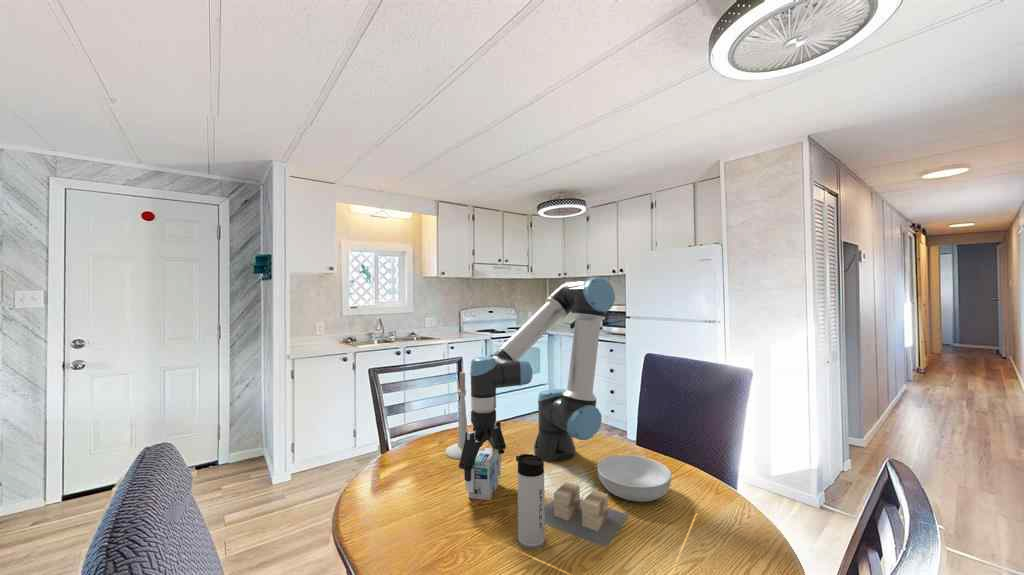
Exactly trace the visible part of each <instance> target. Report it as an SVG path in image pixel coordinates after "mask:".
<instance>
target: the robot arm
mask: <svg viewBox="0 0 1024 575" xmlns="http://www.w3.org/2000/svg"><path fill="white" fill-rule="evenodd" d="M615 300H616V293H615V290H614V288H613V286H612V285H611V283H610V282H609V280H607V279H606V278H603V277H601V276H600V277H597V276H596V277H595V276H590V277H577V278H571V279H569V280H567V281H565V282H564V283H562V284H561V285H560V286H558V287H557V288H556V289H555V290H554V291H552V293H551V294H549V296H547V298H545V303H544V305H542V306H541V307H540V308H539V309H538V310H537V311H536V312H535V313H534V314H533V315H532V316H531V317H530V318H529V319H528V320H527V321H526V322H525V323H524V324H523V325H522V326H521V327H520V328H519V329H518V330H517V331H516V332H514V334H513V335H512V336H511V337H510V338H509V339H508V340H507V341H506V342H504V344H502V346H501V347H500V348H498V349H497V350H496V351H495V353H493V354H487V355H485V356H478V357H474V358H473V359H472V360H471V361H470V372H469V373H470V374H469V376H470V409H471V411H470V423H471V424H472V426H473V428H472V431H467V432H466V433H465V443H464V447H463V451H462V455H461V459H459V464H458V468H459V469H460V470H463V471H464V479H463V480H464V481H465V483H464V484H465V491H466V492H468V493H469V492H471V493H474V469H473V468H472V467H473V465H474V462H475V459H476V457H477V454H478V451H479V449H480V448H482V446H483V445H484V444H485V442H486V441H487V442H488V443H489V444H490V447H491V449H498V472H499V477H500V476H502V468H501V467H502V455H503V454H505V449H506V448H507V445H506V443H505V442H506V441H505V438H504V434H503V432H502V429H501V428H502V427H501V423H502V422H501V421H500V420H497V410H496V409H497V389H499V388H501V389H502V388H509V387H511V388H512V387H517V386H519V387H521V386H524V385H528V384H530V383H531V382H532V381H533V380H532V379H533V375H534V374H533V368H532V365H531V362H529V361H528V360H520V359H521V358H523V356H525V354H526V353H527V352H528V351H529V350H530V349H531V348H532V347H533V346H535V344H536V343H537V342H538V341H539V340H540V339H541V338H542V337H543V336H544V335H545V334H546V333H547V332H548V331H549V330H550V329H551V328H552V327H553V326H554V325H555V324H556V323H557V321H559V320H560V319H563V318H566V316H568V314H570V313H571V315H572V317H573V318H574V328H573V337H572V344H571V345H572V348H571V355H570V361H569V371H568V377H567V378H568V379H567V388H553V389H551V388H550V389H545V390H542V391H539V393H538V397H537V398H538V399H537V404H538V405H537V407H538V409H537V410H538V412H537V413H538V433H537V436H536V440H535V442H534V446H533V453H534V454H533V455H536V456H539V457H540V458H542V460H543V461H548V462H565V461H569V460H572V459H573V458H575V456H576V455H577V454H576V446H575V442H574V439H577V440H579V441H587V440H590V439H591V438H594V436H595V435H596V434H597V433H598V432H599V430H600V428H601V425H602V413H601V412H600V410H599V408H598V407H597V397H596V396H595V394H594V392H593V391H594V384H595V383H594V382H595V375H596V374H595V373H596V367H597V358H598V357H597V355H598V349H599V348H598V347H599V338H600V329H601V324H602V322H603V321H604V320H605V319H606V318H607V316H606V315H607V312H608V311H610V310H611V308H612V307H614V304H615Z"/></svg>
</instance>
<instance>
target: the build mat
mask: <svg viewBox="0 0 1024 575" xmlns="http://www.w3.org/2000/svg"><path fill="white" fill-rule="evenodd" d="M583 500H584V499H581V498H580V509H579V510H578V511H577V512H576V513H575V514H574V515H573V516H572V517H571V518H570V519H569V520H568V521H567V520H565V519H562V518H559V517H556V516H554V499H553V500H551V501H550V502H549V503H548V504H547V505H546V506H544V507H545V526H546V525H547V526H549V527H551V528H554V529H557V530H559V531H561V532H565V533H567V534H569V535H573V536H574V537H575V536H576V537H577V538H581V539H583V540H586V541H588V542H590V543H594V544H596V545H599V546H601V547H604V548H607V546H608V545H609V544H610V542H611V541H613V539H614V537H615V535H616V534H617V533H618V531H619V530H620V528H621V527H622V526H623V524H624V523H625V522H626V520H627V519H628V517H629V516H630V514H629V513H626V512H623V511H620V510H616V509H614V508H609V507H608V519H607V520H606V521H605V522H604V524H603V525H602V526H601V527H600V529H599V530H598V531H595V530H592V529H590V528H587V527H584V526H582V501H583Z"/></svg>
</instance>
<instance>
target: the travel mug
mask: <svg viewBox="0 0 1024 575" xmlns="http://www.w3.org/2000/svg"><path fill="white" fill-rule="evenodd" d="M515 461H516V462H517V536H518V537H517V543H518V545H519V546H520V547H521V548H523V549H524V550H530V551H531V550H532V551H535V550H539V549H541V548H543V547H544V545H545V543H546V537H545V536H546V533H545V532H546V527H545V526H546V524H545V507H546V506H545V468H544V467H545V462H544V461H545V460H543V459H542V458H540V457H539V456H536V455H535V454H531V453H524V454H523V453H522V454H520V455H515Z"/></svg>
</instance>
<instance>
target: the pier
mask: <svg viewBox="0 0 1024 575" xmlns="http://www.w3.org/2000/svg"><path fill="white" fill-rule="evenodd" d="M582 500H583V501H582V526H584V527H587V528H590V529H592V530H595V531H598V530H599V529H600V527H601V526H602V525H603V524H604V522H605V521H606V520H607V519H608V508H609V494H608V493H604V492H601V491H598V490H595V489H593V490H592V491H591V492H590V493H589V494H588V495H587V496H586V497H585V498H584V499H582Z"/></svg>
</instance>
